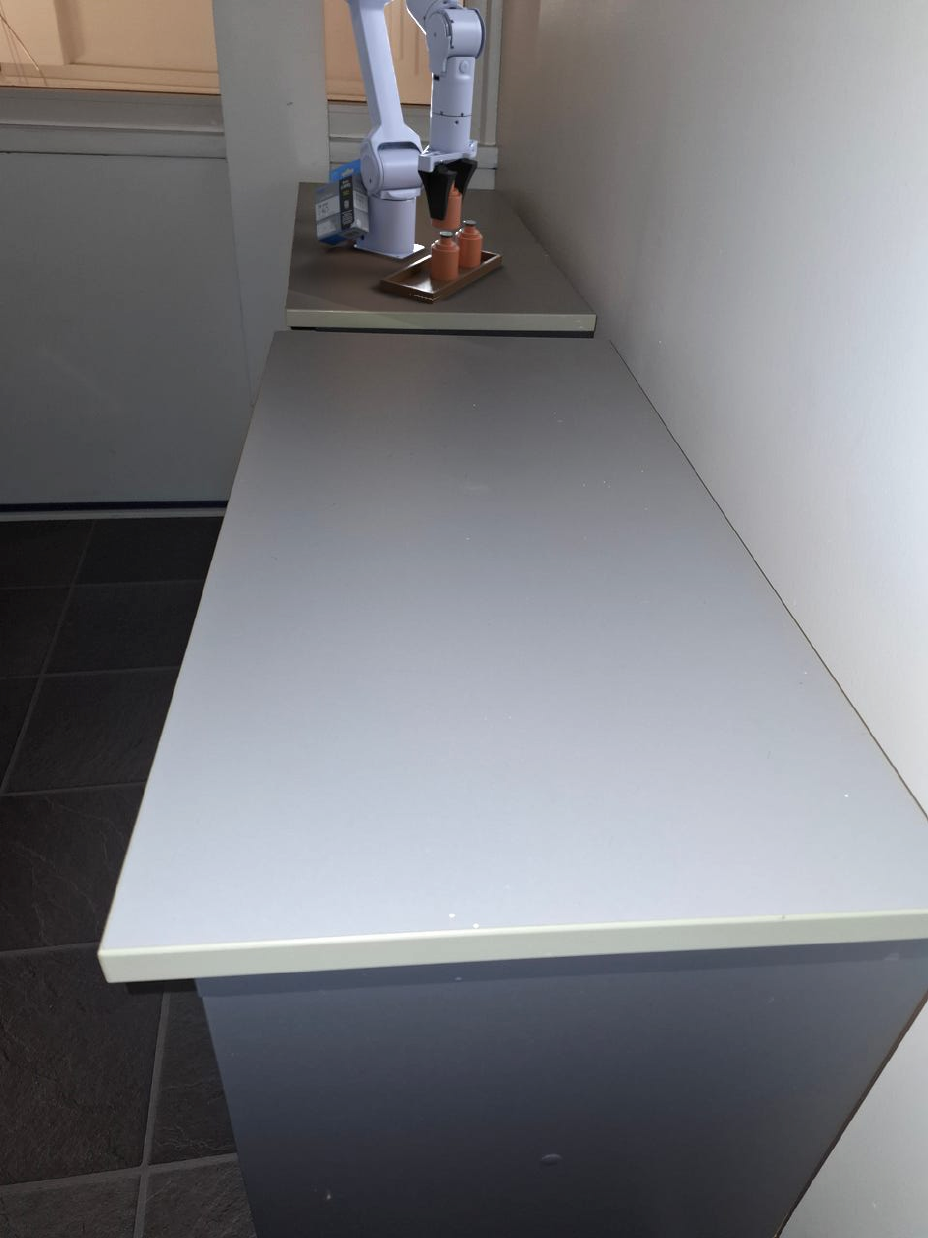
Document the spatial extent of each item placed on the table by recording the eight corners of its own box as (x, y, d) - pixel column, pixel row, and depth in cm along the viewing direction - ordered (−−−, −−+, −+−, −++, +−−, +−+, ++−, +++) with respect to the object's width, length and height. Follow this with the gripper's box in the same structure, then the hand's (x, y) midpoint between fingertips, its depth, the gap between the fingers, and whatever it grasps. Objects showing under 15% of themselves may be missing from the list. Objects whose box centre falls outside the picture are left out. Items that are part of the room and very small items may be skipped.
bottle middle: (424, 276, 136) (426, 233, 131) (438, 269, 139) (440, 227, 134) (449, 283, 134) (451, 239, 130) (462, 275, 137) (465, 233, 133)
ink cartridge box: (315, 240, 142) (311, 163, 141) (332, 246, 145) (328, 171, 144) (354, 226, 137) (350, 146, 136) (371, 233, 140) (367, 154, 139)
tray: (432, 307, 127) (433, 293, 126) (380, 292, 130) (380, 279, 129) (501, 267, 143) (502, 254, 142) (453, 254, 146) (453, 242, 145)
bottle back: (449, 263, 141) (451, 222, 137) (461, 257, 144) (464, 216, 140) (472, 269, 140) (476, 227, 135) (484, 262, 143) (488, 221, 139)
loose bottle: (425, 225, 129) (428, 178, 125) (439, 219, 132) (442, 172, 128) (451, 231, 128) (454, 184, 124) (465, 224, 131) (468, 178, 127)
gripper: (452, 124, 114) (445, 231, 123) (498, 110, 124) (489, 210, 133) (406, 115, 116) (403, 221, 125) (455, 102, 127) (449, 201, 135)
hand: (445, 215), depth 129 cm, fingers closed on loose bottle, 4 cm apart
